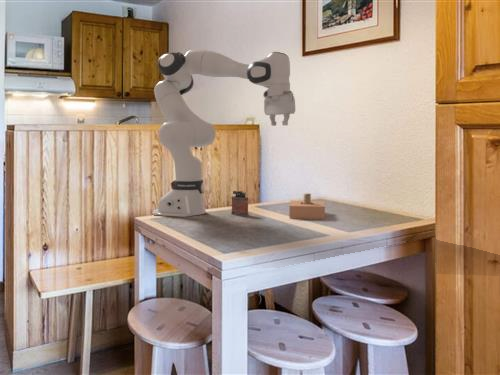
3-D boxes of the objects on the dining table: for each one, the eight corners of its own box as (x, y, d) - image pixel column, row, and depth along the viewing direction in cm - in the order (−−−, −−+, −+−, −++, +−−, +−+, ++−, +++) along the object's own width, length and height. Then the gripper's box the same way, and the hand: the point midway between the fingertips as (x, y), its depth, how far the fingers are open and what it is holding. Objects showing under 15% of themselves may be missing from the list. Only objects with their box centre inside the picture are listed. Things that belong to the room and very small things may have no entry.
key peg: (302, 215, 184) (303, 194, 183) (303, 214, 187) (303, 193, 186) (310, 216, 183) (310, 194, 182) (310, 214, 186) (311, 193, 185)
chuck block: (289, 218, 179) (289, 205, 178) (290, 211, 193) (290, 200, 192) (324, 218, 177) (324, 206, 177) (323, 212, 191) (323, 201, 190)
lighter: (250, 214, 187) (250, 191, 185) (245, 216, 184) (245, 192, 183) (234, 212, 191) (234, 189, 190) (229, 214, 188) (229, 190, 187)
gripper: (299, 90, 178) (299, 125, 180) (274, 94, 196) (274, 125, 198) (285, 89, 175) (285, 125, 177) (261, 93, 193) (261, 125, 195)
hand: (279, 125), depth 188 cm, fingers open, 8 cm apart
